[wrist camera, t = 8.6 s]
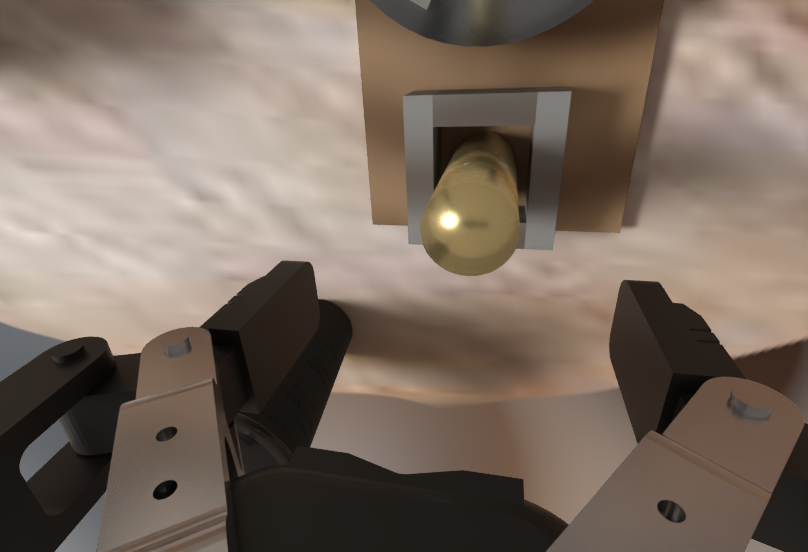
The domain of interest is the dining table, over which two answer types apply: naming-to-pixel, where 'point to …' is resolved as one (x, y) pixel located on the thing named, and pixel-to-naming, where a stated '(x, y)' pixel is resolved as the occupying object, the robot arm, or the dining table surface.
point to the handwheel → (480, 18)
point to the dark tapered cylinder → (297, 396)
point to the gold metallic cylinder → (474, 208)
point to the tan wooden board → (511, 114)
